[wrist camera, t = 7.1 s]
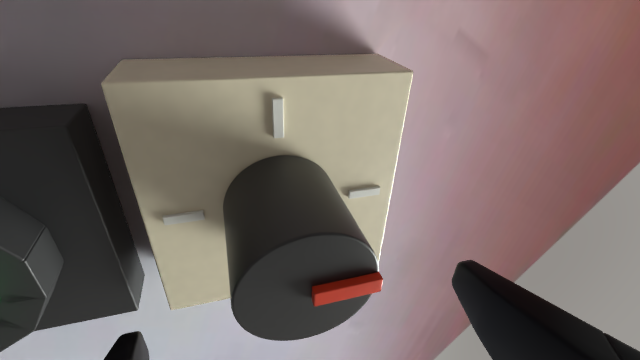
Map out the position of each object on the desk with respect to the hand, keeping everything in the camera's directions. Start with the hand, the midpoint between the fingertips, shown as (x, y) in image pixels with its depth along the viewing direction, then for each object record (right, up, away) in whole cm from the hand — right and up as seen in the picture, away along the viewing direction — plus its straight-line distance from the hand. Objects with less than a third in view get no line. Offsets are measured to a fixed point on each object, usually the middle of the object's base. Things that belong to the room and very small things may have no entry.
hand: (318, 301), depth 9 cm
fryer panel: (-2, +4, +6) cm, 8 cm away
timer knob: (-2, +2, +4) cm, 5 cm away
